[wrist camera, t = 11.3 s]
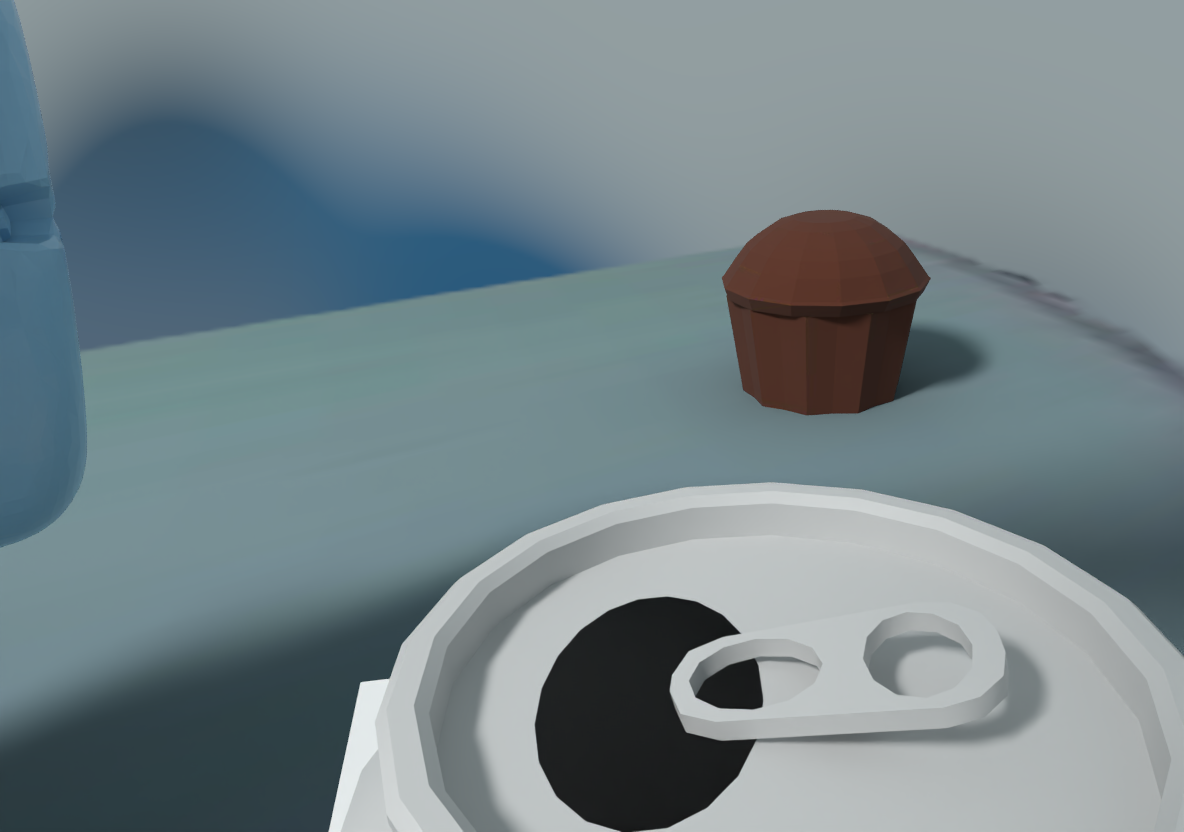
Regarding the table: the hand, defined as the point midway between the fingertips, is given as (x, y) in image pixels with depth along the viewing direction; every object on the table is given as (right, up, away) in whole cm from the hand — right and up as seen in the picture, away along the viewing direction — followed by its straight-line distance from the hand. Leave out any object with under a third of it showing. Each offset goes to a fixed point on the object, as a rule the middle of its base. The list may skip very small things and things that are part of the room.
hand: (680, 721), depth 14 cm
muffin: (+12, +6, +41) cm, 43 cm away
